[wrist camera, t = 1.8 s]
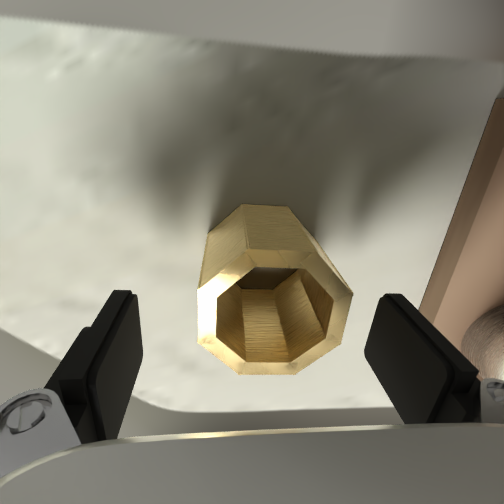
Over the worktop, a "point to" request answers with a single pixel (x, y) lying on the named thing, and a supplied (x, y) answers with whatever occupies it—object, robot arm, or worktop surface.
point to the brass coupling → (269, 294)
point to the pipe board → (472, 243)
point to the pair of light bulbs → (486, 344)
